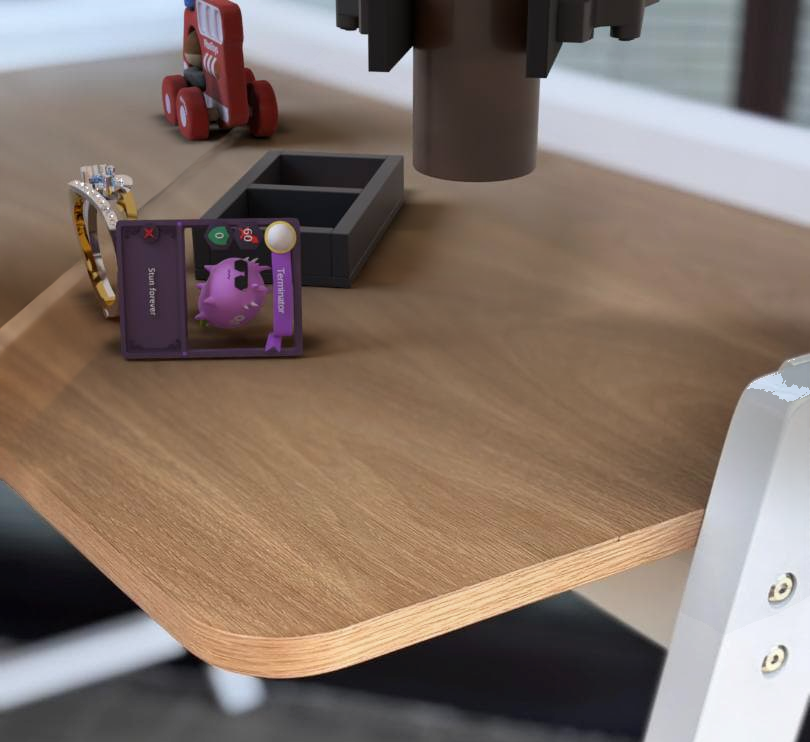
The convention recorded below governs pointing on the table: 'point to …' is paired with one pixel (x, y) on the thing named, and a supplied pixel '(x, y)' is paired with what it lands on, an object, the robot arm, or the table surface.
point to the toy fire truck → (217, 76)
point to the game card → (204, 285)
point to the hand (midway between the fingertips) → (457, 35)
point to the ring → (96, 196)
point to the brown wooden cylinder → (473, 91)
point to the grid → (312, 211)
